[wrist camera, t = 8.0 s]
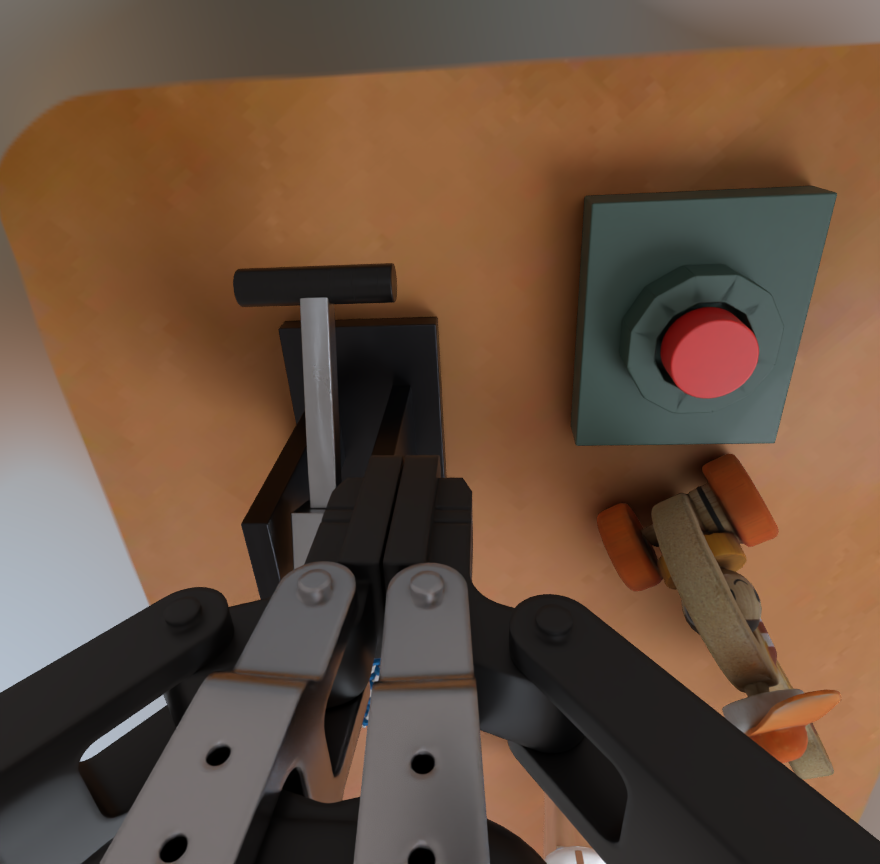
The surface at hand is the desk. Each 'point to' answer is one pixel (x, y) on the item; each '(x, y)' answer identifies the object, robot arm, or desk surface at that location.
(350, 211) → the desk surface
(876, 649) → the desk surface
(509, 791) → the desk surface
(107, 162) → the desk surface
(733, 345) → the button
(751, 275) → the button block
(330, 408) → the lever
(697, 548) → the toy helicopter
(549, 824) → the milkshake
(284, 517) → the bracket
